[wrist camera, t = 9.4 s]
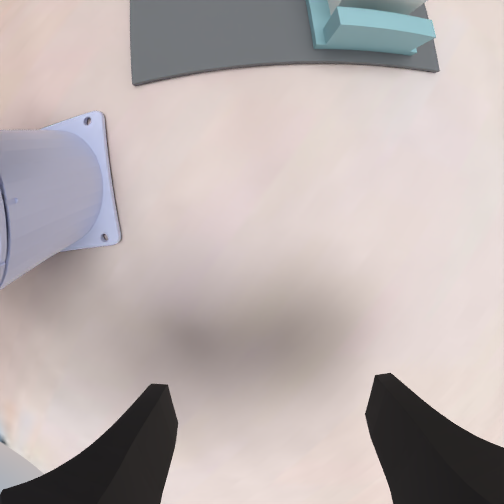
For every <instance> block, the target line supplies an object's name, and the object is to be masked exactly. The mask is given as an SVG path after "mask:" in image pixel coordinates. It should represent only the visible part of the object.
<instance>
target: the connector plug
mask: <svg viewBox="0 0 504 504" xmlns="http://www.w3.org/2000/svg"><path fill="white" fill-rule="evenodd" d="M327 1H328V5H329V10H330V15H332V14H333V12H334V10H335V9H336V7H337V6H340V7H353V8H363V9H371V10H379V11H386V12H393V13H399V14H404V15H409V14H410V13H411V12H413V11H414V10H415V9H417V8H418V7H419V6H421V5H422V4H423V3H425V2H426V1H427V0H327Z"/></svg>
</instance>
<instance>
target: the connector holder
mask: <svg viewBox="0 0 504 504" xmlns="http://www.w3.org/2000/svg"><path fill="white" fill-rule="evenodd" d="M305 1H306V6H307V11H308V17H309V23H310V28H311V34H312V41H313V47H314V49H343V50H361V51H374V52H385V53H394V54H402V55H409V56H411V55H413V54H415V53H417V49H416V48H417V47H419V46H421V45H423V44H424V43H426V42H428V41H430V40H432V39H434V38H436V35H435V31H434V27H433V23H432V20H429V19H424V18H420V17H415V16H410V15H404V14H399V13H393V12H386V11H379V10H371V9H363V8H353V7H340V6H337V7H336V9H335V10H334V12H333V14H332V15H330V10H329V5H328V1H327V0H305Z"/></svg>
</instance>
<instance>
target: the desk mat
mask: <svg viewBox="0 0 504 504" xmlns="http://www.w3.org/2000/svg"><path fill="white" fill-rule="evenodd" d="M409 15H410V16H415V17H420V18H424V19H428V15H427V11H426V8H425V4H424V3H423V4H422V5H421V6H419V7H418V8H417V9H415V10H414V11H413V12H411V13H410V14H409ZM130 47H131V71H132V84H133V85H135V86H137V85H141V84H145V83H149V82H154V81H159V80H163V79H168V78H173V77H179V76H184V75H190V74H196V73H202V72H209V71H216V70H223V69H232V68H241V67H251V66H263V65H279V64H307V63H334V64H361V65H377V66H388V67H398V68H407V69H415V70H422V71H429V72H435V73H436V72H439V71H440V70H439V65H438V59H437V54H436V49H435V44H434V40H433V39H432V40H430V41H428V42H426V43H424V44H423V45H421V46H419V47H417V48H416V49H417V53H415V54H413V55H411V56H409V55H402V54H394V53H385V52H374V51H361V50H343V49H314V47H313V41H312V34H311V28H310V23H309V17H308V11H307V6H306V1H305V0H130Z"/></svg>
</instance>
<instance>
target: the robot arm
mask: <svg viewBox="0 0 504 504" xmlns="http://www.w3.org/2000/svg"><path fill="white" fill-rule="evenodd" d="M88 118H91V123H90V124H89V125H87V119H88ZM103 234H106V235H107V236H108V240H105V239H104V237H103ZM120 239H121V232H120V227H119V221H118V216H117V210H116V205H115V199H114V192H113V186H112V179H111V172H110V165H109V157H108V148H107V139H106V129H105V118H104V114H103V113H102V112H100V111H93V112H89V113H86V114H83V115H80V116H76V117H73V118H70V119H67V120H64V121H61V122H59V123H56V124H53V125H50V126H47V127H45V128H42V129H39V130H0V290H1V289H3V288H4V287H5V286H7V285H8V284H10V283H11V282H13V281H14V280H16V279H17V278H19V277H20V276H22V275H23V274H25V273H26V272H28V271H29V270H31V269H32V268H34V267H36V266H37V265H39V264H40V263H42V262H43V261H45V260H47V259H48V258H50V257H51V256H53V255H55V254H56V253H58V252H61V251H69V250H77V249H84V248H92V247H100V246H108V245H114V244H117V243H118V242H119V241H120ZM365 415H366V420H367V424H368V429H369V433H370V437H371V439H372V442H373V445H374V447H375V450H376V453H377V455H378V458H379V461H380V463H381V466H382V468H383V471H384V474H385V476H386V479H387V482H388V485H389V488H390V491H391V495H392V500H393V504H504V448H503V447H500V446H497V445H495V444H493V443H490V442H488V441H486V440H483V439H481V438H479V437H477V436H475V435H473V434H471V433H470V432H468V431H466V430H464V429H463V428H461V427H459V426H458V425H456V424H454V423H453V422H451V421H450V420H448V419H447V418H446V417H444V416H443V415H441V414H440V413H439V412H437V411H436V410H435V409H433V408H432V407H431V406H429V405H428V404H427V403H426V402H424V401H423V400H422V399H421V398H420V397H418V396H417V395H416V394H415V393H414V392H412V391H411V390H410V389H409V388H408V387H407V386H405V385H404V384H403V383H402V382H401V381H400V380H399V379H397V378H396V377H395V376H394V375H393V374H391V373H387V374H380V375H375V378H374V382H373V386H372V390H371V394H370V398H369V402H368V406H367V409H366V413H365ZM177 428H178V421H177V417H176V414H175V410H174V407H173V403H172V399H171V395H170V392H169V388H168V385H164V384H151V385H149V386H148V388H147V389H146V390H145V391H144V392H143V393H142V394H141V395H140V397H139V398H138V399H137V400H136V401H135V402H134V403H133V404H132V406H131V407H130V408H129V409H128V410H127V411H126V412H125V413H124V414H123V415H122V416H121V417H120V418H119V419H118V420H117V421H116V422H115V423H114V424H113V425H112V426H111V427H110V428H109V429H108V430H107V431H106V432H105V433H104V434H103V435H102V436H101V437H100V438H98V439H97V440H96V441H95V442H94V443H93V444H91V445H90V446H89V447H88V448H86V449H85V450H84V451H82V452H81V453H80V454H78V455H77V456H75V457H74V458H72V459H71V460H69V461H67V462H66V463H64V464H63V465H61V466H59V467H58V468H56V469H54V470H52V471H50V472H48V473H46V474H44V475H42V476H40V477H38V478H35V479H33V480H31V481H28V482H25V483H23V484H20V485H17V486H13V487H10V488H7V489H3V490H2V492H1V494H0V504H160V502H161V498H162V493H163V489H164V486H165V482H166V478H167V475H168V471H169V467H170V464H171V460H172V456H173V452H174V448H175V443H176V436H177Z"/></svg>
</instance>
